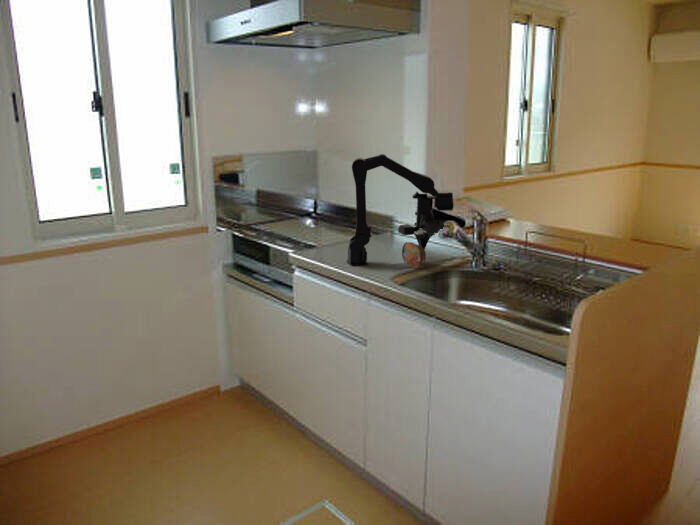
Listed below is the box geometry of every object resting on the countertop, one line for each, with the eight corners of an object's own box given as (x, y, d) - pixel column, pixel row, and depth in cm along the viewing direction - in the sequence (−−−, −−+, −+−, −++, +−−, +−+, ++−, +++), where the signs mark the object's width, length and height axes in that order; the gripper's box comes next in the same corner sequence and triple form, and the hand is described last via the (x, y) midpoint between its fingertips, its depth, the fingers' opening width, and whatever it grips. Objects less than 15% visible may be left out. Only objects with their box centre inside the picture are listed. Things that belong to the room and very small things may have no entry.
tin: (401, 260, 214) (401, 240, 212) (408, 260, 215) (409, 239, 213) (418, 271, 200) (419, 248, 198) (426, 270, 201) (427, 248, 199)
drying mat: (396, 269, 202) (396, 268, 202) (389, 265, 207) (389, 264, 207) (412, 267, 204) (412, 266, 204) (404, 263, 210) (405, 262, 210)
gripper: (411, 215, 193) (410, 258, 197) (457, 212, 199) (454, 254, 203) (398, 210, 203) (396, 250, 207) (442, 207, 209) (439, 247, 213)
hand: (422, 250), depth 208 cm, fingers closed
